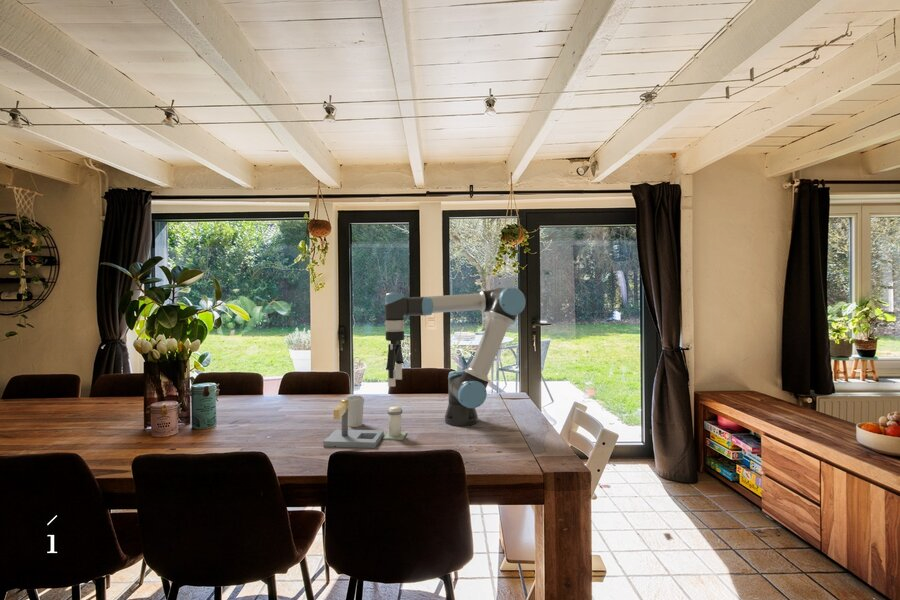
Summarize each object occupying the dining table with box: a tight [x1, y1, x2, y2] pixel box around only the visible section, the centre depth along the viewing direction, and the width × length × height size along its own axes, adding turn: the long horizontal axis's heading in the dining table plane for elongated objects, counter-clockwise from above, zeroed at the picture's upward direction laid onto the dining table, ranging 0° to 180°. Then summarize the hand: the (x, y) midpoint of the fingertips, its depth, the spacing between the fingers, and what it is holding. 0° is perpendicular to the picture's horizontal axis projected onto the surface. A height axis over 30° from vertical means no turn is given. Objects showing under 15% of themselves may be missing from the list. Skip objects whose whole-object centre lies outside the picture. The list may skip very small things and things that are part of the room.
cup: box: [345, 395, 365, 428], centre depth 182 cm, size 8×8×12 cm
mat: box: [382, 430, 407, 441], centre depth 166 cm, size 8×8×1 cm
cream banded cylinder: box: [387, 405, 403, 437], centre depth 166 cm, size 6×6×11 cm
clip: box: [333, 398, 349, 420], centre depth 156 cm, size 14×3×4 cm, turn 0°
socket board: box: [322, 411, 385, 449], centre depth 161 cm, size 20×14×12 cm
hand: (395, 382), depth 166 cm, fingers open, 13 cm apart
